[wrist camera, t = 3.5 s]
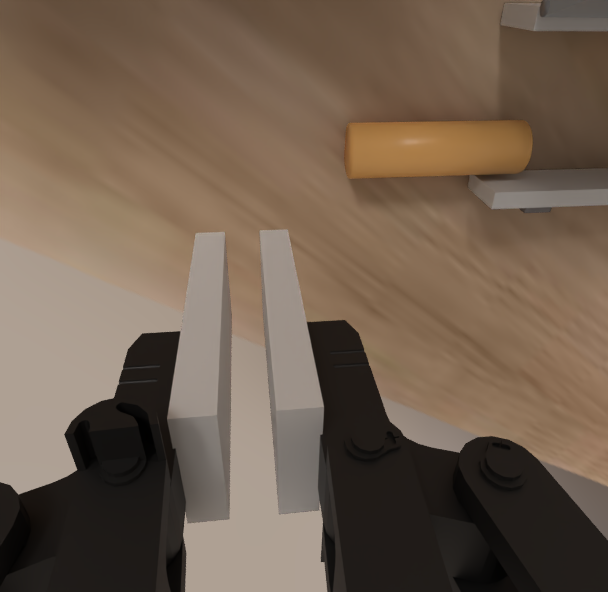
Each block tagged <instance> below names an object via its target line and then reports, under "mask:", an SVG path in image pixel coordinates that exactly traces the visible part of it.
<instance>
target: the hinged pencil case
mask: <svg viewBox="0 0 608 592" xmlns="http://www.w3.org/2000/svg"><path fill="white" fill-rule="evenodd" d="M540 5H541V3H504V8H503V13H502V18H501V23H500V25H503V26H509V27H514V28H520V29H525V30H530V31H608V18H590V17H541V16H540ZM468 188H469V189H470V190H471V191H472V192H473V193H474V194H475V195H476V196H477V197H479V198H480V199H481V200H482V201H483V202H484V203H485V204H486V205H487V206H488V207H489V208H491V209H513V208H519V209H520V210H521V211H523V212H524V213H539V212H550V211H551V208H552V207H568V206H596V205H608V168H591V169H556V170H523V171H522V172H520V173H518V174H492V175H470V177H469V182H468Z"/></svg>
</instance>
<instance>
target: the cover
mask: <svg viewBox="0 0 608 592" xmlns="http://www.w3.org/2000/svg"><path fill="white" fill-rule="evenodd" d="M540 16H541V17H590V18H608V0H543V1H542V3H541V5H540Z"/></svg>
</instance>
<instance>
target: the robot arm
mask: <svg viewBox="0 0 608 592" xmlns="http://www.w3.org/2000/svg"><path fill="white" fill-rule="evenodd" d="M260 254H261V279H262V303H263V321H264V333H265V346H266V358H267V370H268V382H269V395H270V408H271V420H272V431H273V432H272V433H273V445H274V457H275V470H276V482H277V494H278V507H279V514H287V513H296V512H307V511H317V510H319V502H320V505H321V511H322V517H323V532H322V551H321V562H325V571H326V581H327V591H328V592H608V540H607V539H606V538H605V537H604V536H603V535H602V533H601V532H600V531H599V530H598V529H597V528H596V526H595V525H594V524H593V523H592V522H591V521H590V519H589V518H588V517H587V516H586V515H585V514H584V512H583V511H582V510H581V509H580V508H579V507H578V505H577V504H576V503H575V502H574V501H573V500H572V499H571V498H570V497H569V495H568V494H567V493H566V492H565V490H564V489H563V488H562V487H561V486H560V485H559V484H558V482H557V481H556V480H555V479H554V478H553V477H552V475H551V474H550V473H549V472H548V471H547V470H546V468H545V467H544V466H543V465H542V464H541V463H540V462H539V460H538V459H537V458H536V457H534V456H533V455H532V454H531V453H530V452H529V451H528V450H526V449H525V448H524V447H522V446H520V445H518V444H516V443H514V442H512V441H510V440H507V439H503V438H498V437H493V436H489V437H477V438H475V439H474V440H471V441H470V442H468V443H466V444H465V445H464V447H463V448H462V450H461V451H460V453H457V452H452V451H447V450H442V449H436V448H431V447H427V446H424V445H420V444H418V443H416V442H414V441H411V440H409V439H407V438H406V437H405V436H403V434H402V432H401V431H400V430H399V429H398V428H397V427H396V426H394V425H393V424H392V423H391V422H390V421H389V419H388V417H387V415H386V412H385V409H384V406H383V403H382V400H381V397H380V394H379V391H378V388H377V385H376V382H375V380H374V377H373V374H372V371H371V368H370V366H369V362H368V359H367V356H366V353H365V352H364V348H363V345H362V342H361V339H360V336H359V333H358V332H357V331H356V330H355V329H354V328H353V327H352V326H351V325H349V324H348V323H347V322H346V321H345V320H338V321H321V322H306V317H305V312H304V307H303V302H302V297H301V292H300V287H299V282H298V278H297V273H296V268H295V263H294V258H293V253H292V248H291V243H290V238H289V234H288V229H285V230H260ZM231 338H232V312H231V300H230V288H229V276H228V264H227V252H226V241H225V232H209V233H196V235H195V242H194V248H193V255H192V261H191V268H190V274H189V281H188V287H187V294H186V300H185V306H184V313H183V320H182V326H181V331H178V332H161V333H144V334H142V335H141V336H140V337H139V338H138V339H137V340H136V341H135V342H134V343H133V345H132V346H131V347H130V348H129V349H128V352H127V355H126V359H125V363H124V365H123V370H122V372H121V376H120V379H119V385H118V386H117V390H116V393H115V397H114V398H113V399H108V400H104V401H101V402H99V403H97V404H95V405H93V406H91V407H89V408H87V409H85V410H84V411H83V412H82V413H80V414H79V415H78V416H77V417H76V418H75V419H74V420H73V421H72V422H71V424H70V425H69V427H68V429H67V431H66V432H65V434H64V435H65V437H66V440H67V443H68V446H69V448H70V451H71V453H72V456H73V459H74V462H75V464H76V467H77V471H75V472H74V473H72V474H70V475H69V476H67V477H65V478H63V479H61V480H58V481H56V482H53V483H51V484H48V485H45V486H42V487H39V488H36V489H33V490H30V491H28V492H25V493H22V494H19V495H18V494H17V493H16V492H15V490H14V489H13V488H12V487H11V486H10V485H7V484H4V483H1V482H0V592H185V575H186V574H185V573H186V550H185V544H184V539H183V529H184V518H185V512H186V517H187V521H188V523H195V522H206V521H216V520H226V519H229V506H230V422H231Z"/></svg>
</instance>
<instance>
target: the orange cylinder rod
mask: <svg viewBox="0 0 608 592" xmlns="http://www.w3.org/2000/svg"><path fill="white" fill-rule="evenodd" d="M532 147H533V137H532V131H531V128H530V126H529V124H528V123H527V122H526V121H524V120H490V121H430V122H370V123H348V125H347V128H346V136H345V153H344V161H345V170H346V174H347V177H348V178H349V179H351V178H386V177H421V176H456V175H492V174H518V173H520V172H522V171H523V170H524V169H525V167H526V166H527V164H528V162H529V160H530V157H531V153H532Z"/></svg>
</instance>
